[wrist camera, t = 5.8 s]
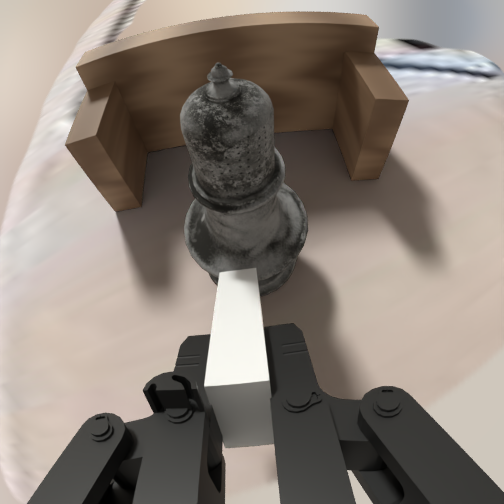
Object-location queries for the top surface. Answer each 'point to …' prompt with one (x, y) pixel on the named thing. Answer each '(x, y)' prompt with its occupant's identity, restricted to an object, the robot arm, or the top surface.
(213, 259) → the grey chess piece
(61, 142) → the top surface
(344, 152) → the brown wooden u-shaped block
